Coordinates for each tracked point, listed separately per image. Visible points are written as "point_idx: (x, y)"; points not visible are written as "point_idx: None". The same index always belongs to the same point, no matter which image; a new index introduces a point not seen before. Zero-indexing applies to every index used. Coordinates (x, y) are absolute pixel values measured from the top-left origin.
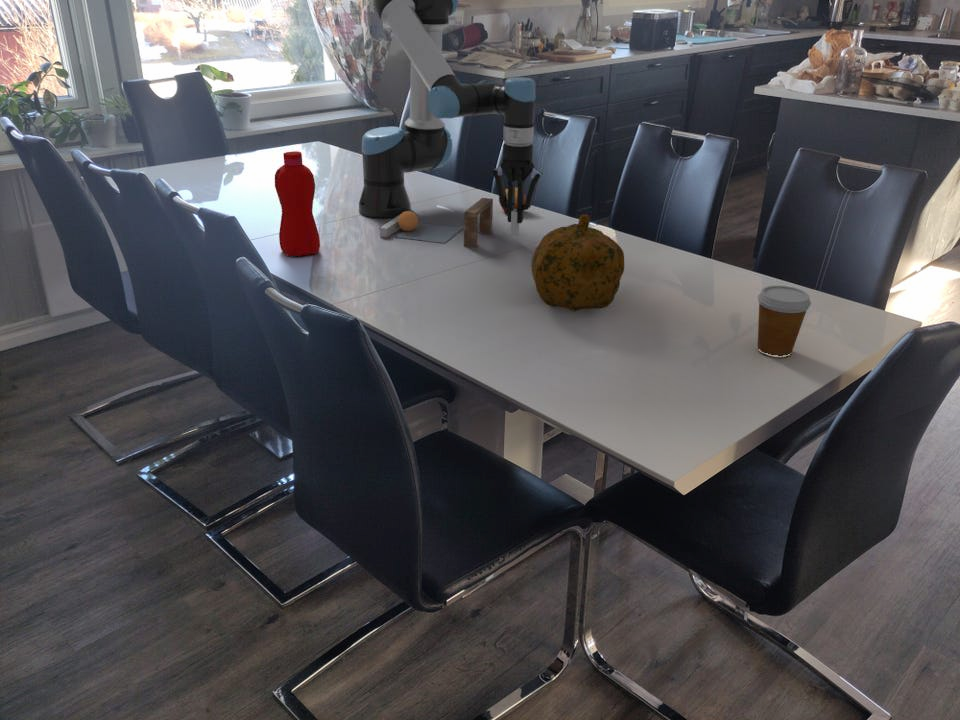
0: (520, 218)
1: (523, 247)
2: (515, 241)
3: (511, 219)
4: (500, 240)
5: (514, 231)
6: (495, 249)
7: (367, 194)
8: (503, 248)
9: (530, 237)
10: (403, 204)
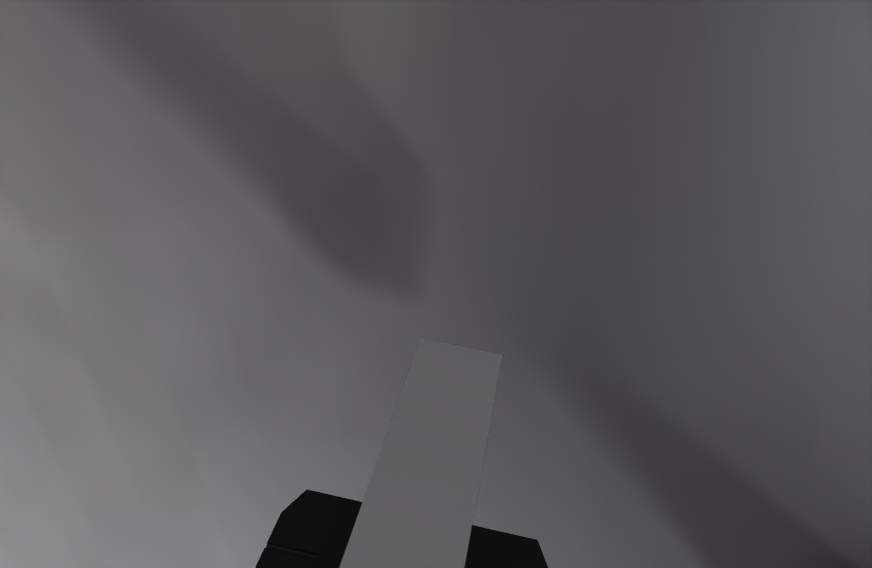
0: (283, 562)
1: (333, 205)
2: None
3: (459, 547)
4: (650, 409)
5: (433, 384)
6: (711, 44)
7: None
8: (589, 116)
9: None
10: None
